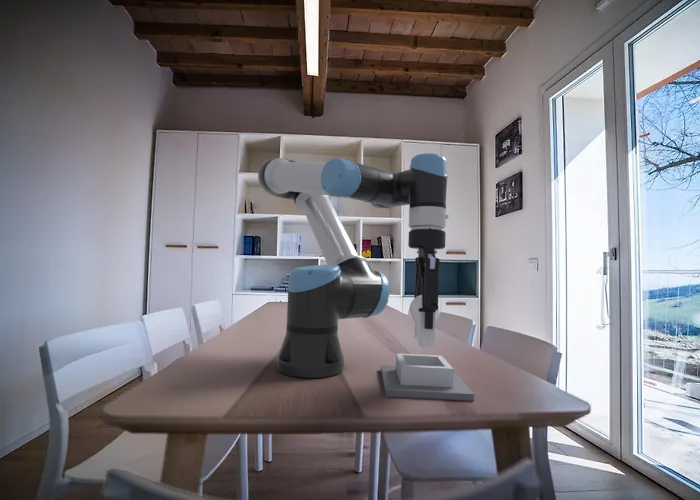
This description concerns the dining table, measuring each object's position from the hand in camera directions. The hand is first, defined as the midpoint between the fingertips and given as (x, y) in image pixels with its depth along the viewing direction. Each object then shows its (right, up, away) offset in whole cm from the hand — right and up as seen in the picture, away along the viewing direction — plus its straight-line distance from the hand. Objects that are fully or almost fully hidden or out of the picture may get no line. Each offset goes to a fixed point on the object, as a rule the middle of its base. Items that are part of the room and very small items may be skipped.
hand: (423, 341), depth 73 cm
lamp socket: (0, -9, 0) cm, 9 cm away
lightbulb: (0, -2, 0) cm, 2 cm away
